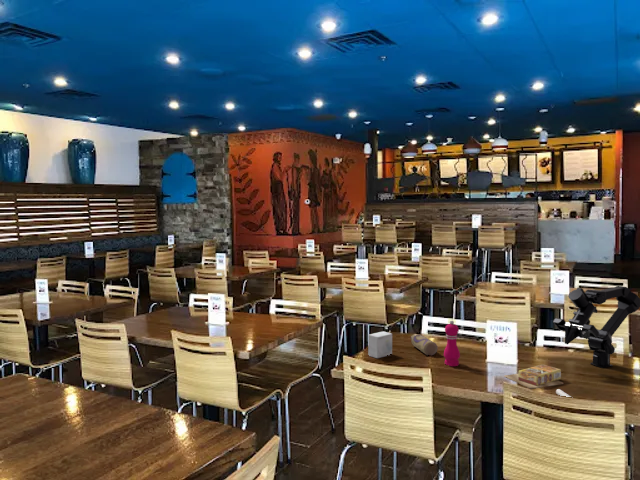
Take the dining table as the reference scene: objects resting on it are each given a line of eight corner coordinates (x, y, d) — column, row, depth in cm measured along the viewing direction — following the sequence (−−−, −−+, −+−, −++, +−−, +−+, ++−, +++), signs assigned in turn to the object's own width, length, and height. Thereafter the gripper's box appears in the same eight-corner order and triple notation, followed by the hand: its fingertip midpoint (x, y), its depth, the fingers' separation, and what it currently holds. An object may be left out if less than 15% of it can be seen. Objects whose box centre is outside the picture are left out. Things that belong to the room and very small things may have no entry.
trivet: (535, 372, 229) (535, 371, 229) (563, 383, 214) (563, 382, 214) (504, 376, 224) (504, 375, 224) (530, 388, 209) (530, 387, 209)
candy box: (561, 369, 218) (536, 375, 210) (561, 379, 218) (536, 386, 210) (542, 363, 225) (518, 370, 217) (542, 373, 226) (517, 380, 218)
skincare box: (377, 358, 253) (377, 336, 252) (368, 355, 258) (367, 334, 257) (392, 354, 259) (392, 333, 259) (383, 351, 264) (383, 330, 264)
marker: (587, 412, 185) (587, 405, 185) (581, 412, 185) (582, 406, 185) (561, 394, 203) (561, 388, 203) (555, 394, 203) (555, 388, 203)
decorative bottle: (438, 355, 257) (438, 341, 257) (423, 356, 256) (423, 342, 255) (419, 341, 282) (419, 329, 282) (405, 342, 281) (405, 330, 281)
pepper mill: (441, 362, 245) (441, 319, 244) (456, 361, 246) (456, 318, 244) (446, 367, 238) (446, 322, 237) (462, 366, 239) (462, 322, 237)
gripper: (612, 329, 224) (595, 360, 220) (573, 322, 241) (556, 350, 236) (600, 313, 220) (582, 343, 216) (561, 306, 237) (543, 334, 232)
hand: (566, 343), depth 225 cm, fingers closed
